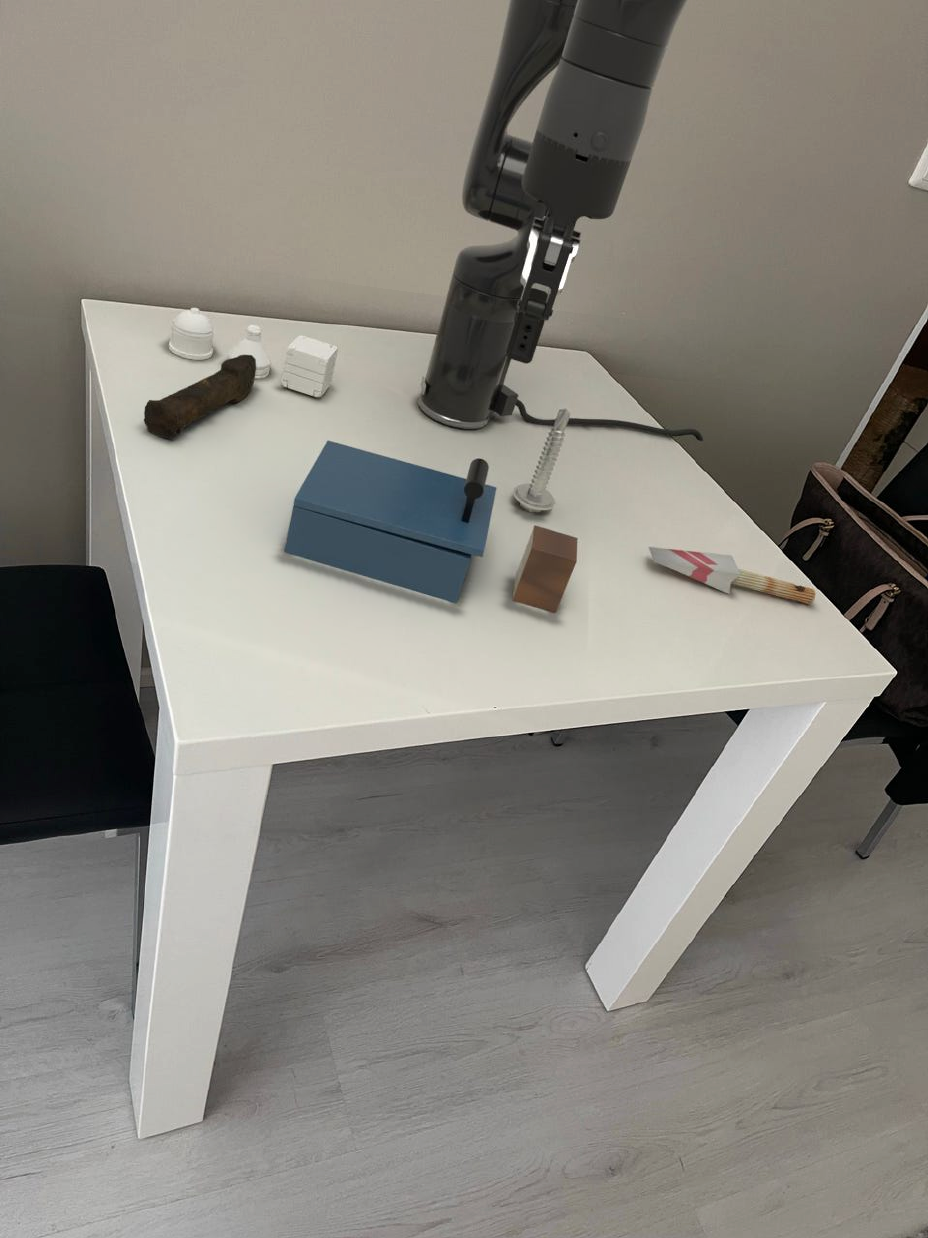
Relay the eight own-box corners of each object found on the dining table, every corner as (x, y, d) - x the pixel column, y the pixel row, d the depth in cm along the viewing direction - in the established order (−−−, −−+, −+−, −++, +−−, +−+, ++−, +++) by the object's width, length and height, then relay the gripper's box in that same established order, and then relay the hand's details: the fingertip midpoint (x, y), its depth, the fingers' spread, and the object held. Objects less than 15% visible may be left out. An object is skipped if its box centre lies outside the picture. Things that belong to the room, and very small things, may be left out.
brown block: (554, 594, 97) (577, 537, 93) (553, 619, 93) (577, 561, 89) (513, 582, 97) (534, 524, 93) (509, 606, 93) (531, 547, 89)
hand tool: (172, 445, 100) (177, 405, 97) (140, 430, 100) (144, 389, 98) (271, 396, 115) (278, 360, 112) (243, 383, 116) (249, 347, 113)
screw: (502, 498, 110) (539, 501, 112) (517, 522, 107) (555, 524, 109) (537, 395, 103) (576, 400, 105) (554, 417, 99) (594, 421, 101)
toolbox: (469, 543, 100) (484, 495, 97) (454, 609, 90) (470, 559, 87) (315, 496, 99) (326, 447, 96) (282, 558, 89) (292, 506, 86)
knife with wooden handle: (653, 533, 106) (812, 578, 110) (642, 553, 108) (800, 596, 112) (659, 551, 103) (822, 597, 107) (648, 572, 105) (810, 616, 109)
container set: (330, 386, 121) (338, 345, 118) (318, 401, 117) (327, 359, 114) (179, 337, 121) (183, 294, 118) (161, 350, 117) (165, 306, 113)
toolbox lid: (494, 493, 97) (508, 448, 94) (482, 557, 86) (497, 508, 83) (326, 447, 96) (334, 399, 93) (293, 505, 86) (301, 454, 83)
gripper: (542, 110, 78) (487, 304, 87) (532, 137, 66) (469, 357, 75) (630, 139, 78) (565, 329, 87) (635, 171, 67) (560, 386, 76)
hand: (521, 342), depth 81 cm, fingers open, 8 cm apart
